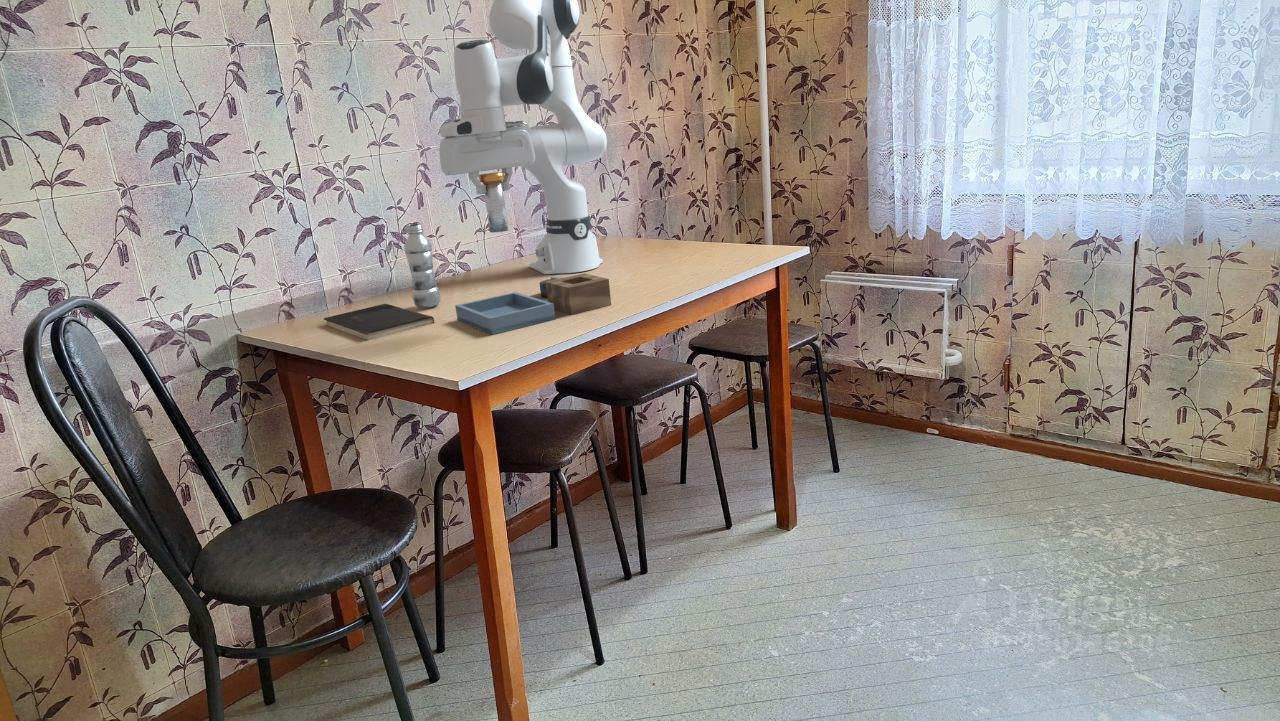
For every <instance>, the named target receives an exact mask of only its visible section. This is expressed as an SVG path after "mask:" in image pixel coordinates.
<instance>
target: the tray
mask: <svg viewBox="0 0 1280 721" xmlns="http://www.w3.org/2000/svg"><path fill="white" fill-rule="evenodd" d="M454 306H455V312H456V319H457V321H458V322H460V323H463V324H465V325H466V326H467V325H468V326H470V327H473V328H474V329H478V330H479V331H482V332H485V333H486V334H489V335H492V336H493V335H494V336H495V335H498V334H501V333H502V334H503V333H506V332H510V331H513V330H517V329H522V328H526V327H529V326H534V325H538V324H542V323H546V322H550V321H554V320H556V312H555V309H554V304H553V303H550V302H547V301H544V300H540V299H537V298H534V297H530V295H527V294H524V293H521V292H517V291H514V292H510V293H506V294H505V293H504V294H500V295H496V296H492V297H487V298H482V299H477V300H474V301H469V302H464V303H460V304H456V305H454Z"/></svg>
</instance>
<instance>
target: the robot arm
mask: <svg viewBox="0 0 1280 721" xmlns="http://www.w3.org/2000/svg"><path fill="white" fill-rule="evenodd" d="M488 17H489V18H488V19H489V23H488V24H489V27H490V29H491V32H492V34H493V35H494V37H495V38H496V39H497V40H498V42H500V44H502V45H504V46H506V47H507V48H509V49H514V50H527V51H528V53H527V54H524V55H518V56H510V57H499V58H497V57H496V54H495V50H494V46H493V44H492V42H491V41H490V40H487V39H476V40H475V39H474V40H470V41H464V42H460V43H458V44H457V45H456V46H455V47H454V52H453V53H454V54H453V64H454V65H453V66H454V78H455V86H456V91H457V93H458V96H459V99H460V104H459V111H460V117H458V118H456V119H454V120H453V121H450V122H448V123H446V124H444V125H442V126H440V127H439V133H440V136H441V137H442V139H441V140H440V143H439V162H440V169H441V171H442V173H443V174H444V175H446V176H455V175H456V176H457V175H464V174H468V178H469V180H470V181H471V182H472V183H473V185H474V186H475V190H476V195H484V194H486V192H487V191H486V185H483V183H482V182H480V181H479V174H480V172H487V171H495V170H501V172H504V179H505V180H502V185H503V192H505V191H507V192H508V191H510V190H511V189H510V181H511V178H512V175H513V174H514V173H513V168H517V167H522V168H524V169H526V170H527V171H529V173H530V174H532V175H533V176H534V177H535V179H536V180H537V181H538V183H539V185H540V186H541V189H542V191H543V195H544V201H545V206H546V212H547V220H545V221H544V223H545V224H544V225H545V227H546V229H545V232H546V233H545V235H544V236H543V238H542V239H541V241H540V242H539V243H538V244H537V246H536V249H535V256H536V258H537V261H533V262H531V263H529V267H530V268H531V269H534V270H535V271H537V272H540V273H541V274H543V275H551V274H552V275H554V274H571V273H580V272H585V271H586V272H587V271H590V270H594V269H597V268H599V267H600V265H601V264H603V263H604V260H603V258H600V256H599V255H600V254H599V248H598V244H597V237H596V234H594V233H593V232H592V231H591V229H592V219H591V215H589V209H588V201H587V200H588V198H587V190H586V187H585V186H584V185H583V184H582V183H581V182H580V181H578V180H576V179H573V178H571V177H568V176H566V175H565V173H564V170H563V167H565V166H573V165H581V164H588V163H590V162H594V161H595V160H599V159H601V158H603V156H604V154H605V153H606V150H607V146H608V138H607V134H606V131H605V130H604V129H603V127H602V126H601V125H600V123H597V122H596V121H594V120H593V119H592V118H591V117H590V116H588V114H587V112H585V110H584V108H583V106H582V105H581V103H580V101H579V98H578V95H577V94H578V93H577V91H576V85H575V78H574V71H573V63H572V56H571V51H570V46H569V43H568V40H569V39H570V38H571V34H573V33H574V32H575V31H576V29H577V28H578V25H579V22H580V6H579V2H578V1H577V0H493V2H492V5H491V7H490V11H489V16H488ZM519 105H538V106H539V107H541V108H542V109H545V110H546V111H549V112H552V113H553V114H554V116H555V117H556V119H557V123H553V124H551V123H550V124H543V125H542V124H541V125H534V126H531V127H530V126H529V125H528V123H526V122H524V121H523V120H517V121H506V115H505V108H504V107H508V106H519Z"/></svg>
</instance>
